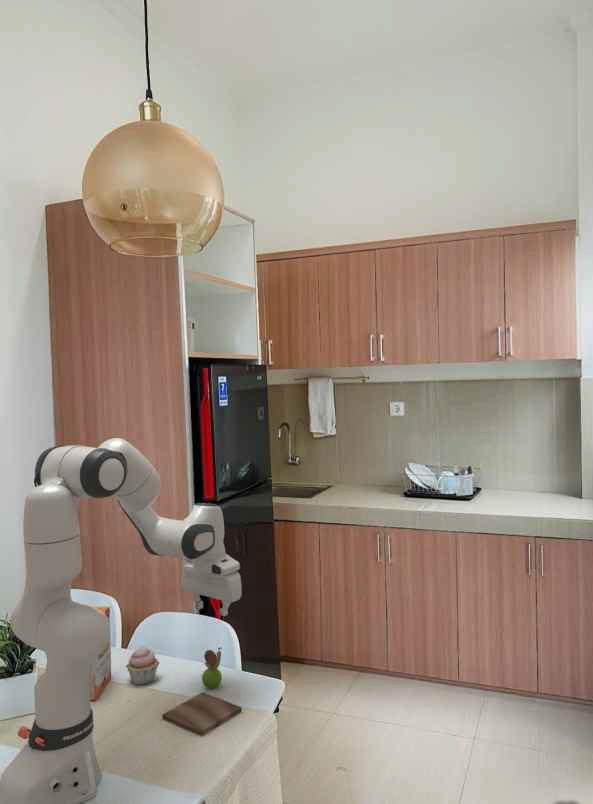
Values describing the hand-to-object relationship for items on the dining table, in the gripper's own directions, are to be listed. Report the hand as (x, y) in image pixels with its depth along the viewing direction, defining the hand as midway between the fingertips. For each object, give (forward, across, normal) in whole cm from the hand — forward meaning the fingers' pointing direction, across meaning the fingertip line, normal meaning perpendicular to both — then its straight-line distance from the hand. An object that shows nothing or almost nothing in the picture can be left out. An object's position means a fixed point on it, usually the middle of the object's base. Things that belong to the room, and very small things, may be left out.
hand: (211, 611), depth 180 cm
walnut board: (+21, +8, -12) cm, 26 cm away
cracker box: (+21, -27, -19) cm, 39 cm away
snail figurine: (+21, 0, 0) cm, 21 cm away
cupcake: (+21, -20, -8) cm, 30 cm away
